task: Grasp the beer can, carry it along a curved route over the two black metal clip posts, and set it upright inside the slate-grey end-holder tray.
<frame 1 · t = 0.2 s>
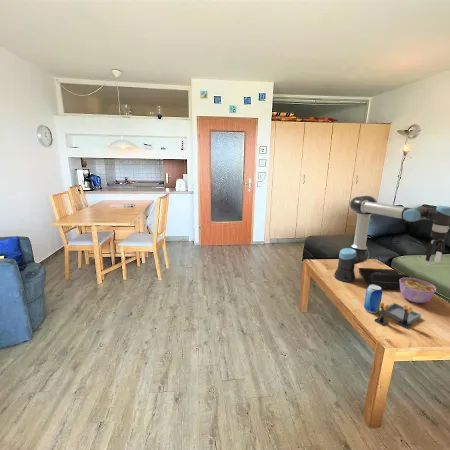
hand: (432, 263, 162), 28 cm above the table, fingers open, 13 cm apart
beer can: (371, 310, 160), on the table
clip posts: (381, 322, 148), on the table
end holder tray: (400, 315, 155), on the table
bowl of food: (413, 299, 173), on the table
video game console: (383, 282, 198), on the table
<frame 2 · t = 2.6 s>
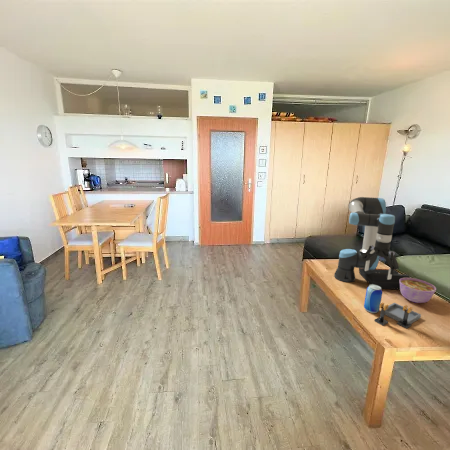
hand: (377, 274, 154), 24 cm above the table, fingers open, 13 cm apart
nothing on the table moved.
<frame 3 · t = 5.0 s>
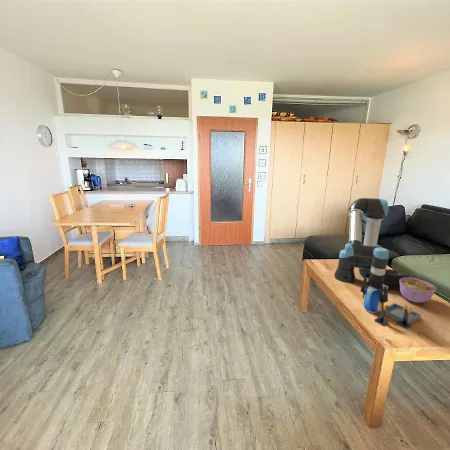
hand: (371, 306, 159), 2 cm above the table, fingers closed on beer can, 8 cm apart
beer can: (371, 310, 160), on the table, touching gripper
everything else where it was.
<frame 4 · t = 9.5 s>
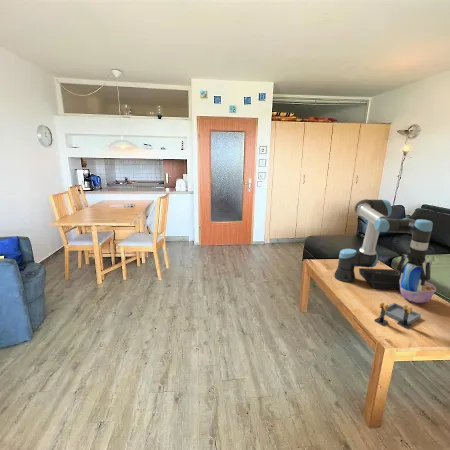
hand: (409, 286, 143), 23 cm above the table, fingers closed on beer can, 8 cm apart
beer can: (409, 290, 144), point 20 cm above the table, touching gripper
everything else where it was.
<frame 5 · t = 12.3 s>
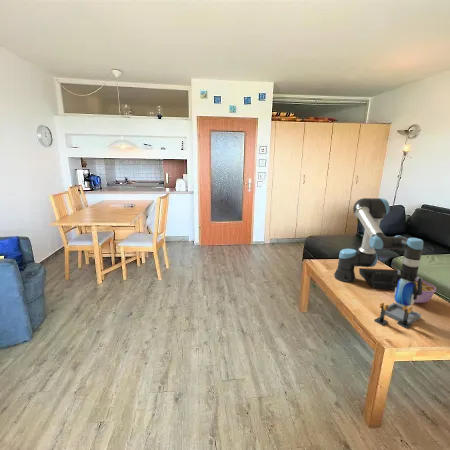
hand: (403, 300, 152), 10 cm above the table, fingers closed on beer can, 8 cm apart
beer can: (402, 304, 153), point 8 cm above the table, touching gripper
everything else where it was.
when the fingers open (4 cm above the table, at t = 14.4 s): beer can drops 1 cm, resting on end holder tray.
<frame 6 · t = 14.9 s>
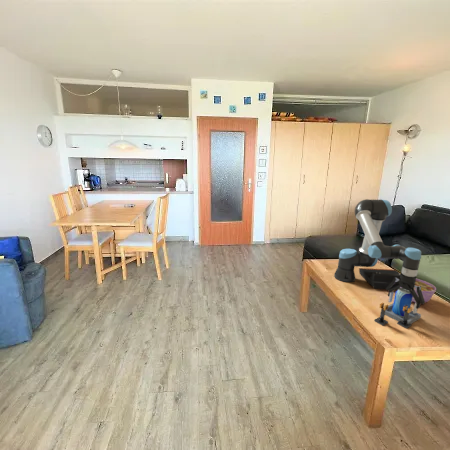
hand: (401, 307, 153), 6 cm above the table, fingers open, 13 cm apart
beer can: (399, 314, 155), resting on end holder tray
everything else where it was.
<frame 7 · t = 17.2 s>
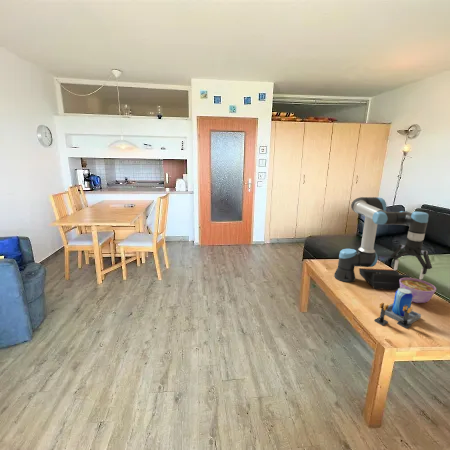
hand: (407, 274, 149), 27 cm above the table, fingers open, 13 cm apart
nothing on the table moved.
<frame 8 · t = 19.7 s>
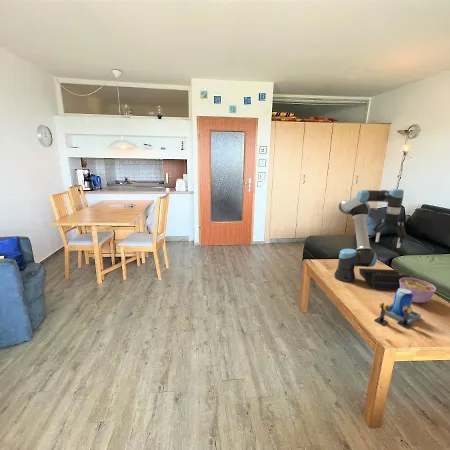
hand: (387, 244, 170), 37 cm above the table, fingers open, 13 cm apart
nothing on the table moved.
at the end: beer can inside the target area on the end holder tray (0.3 cm from its centre), point 0.3 cm above the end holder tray's base; beer can tilted 0°; the gripper is holding nothing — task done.
